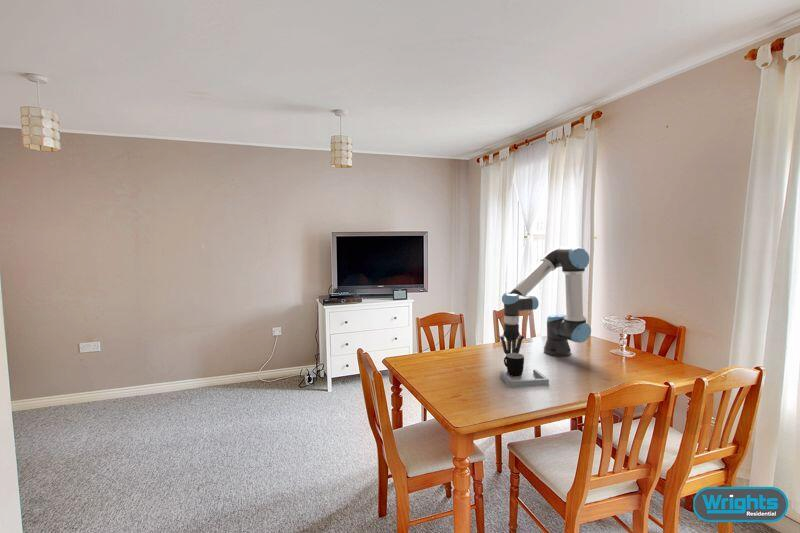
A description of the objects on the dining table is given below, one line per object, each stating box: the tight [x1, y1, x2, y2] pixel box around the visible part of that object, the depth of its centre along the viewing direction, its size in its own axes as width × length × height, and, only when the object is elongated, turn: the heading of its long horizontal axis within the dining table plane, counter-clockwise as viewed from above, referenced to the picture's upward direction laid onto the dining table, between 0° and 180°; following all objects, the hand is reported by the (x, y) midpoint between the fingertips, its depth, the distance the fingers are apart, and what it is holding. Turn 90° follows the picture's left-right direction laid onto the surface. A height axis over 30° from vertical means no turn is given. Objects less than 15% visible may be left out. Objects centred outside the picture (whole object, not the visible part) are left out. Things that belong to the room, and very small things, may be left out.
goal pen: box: [499, 368, 550, 389], centre depth 188 cm, size 14×19×3 cm
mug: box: [503, 352, 525, 378], centre depth 198 cm, size 12×9×10 cm
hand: (511, 366), depth 203 cm, fingers closed
